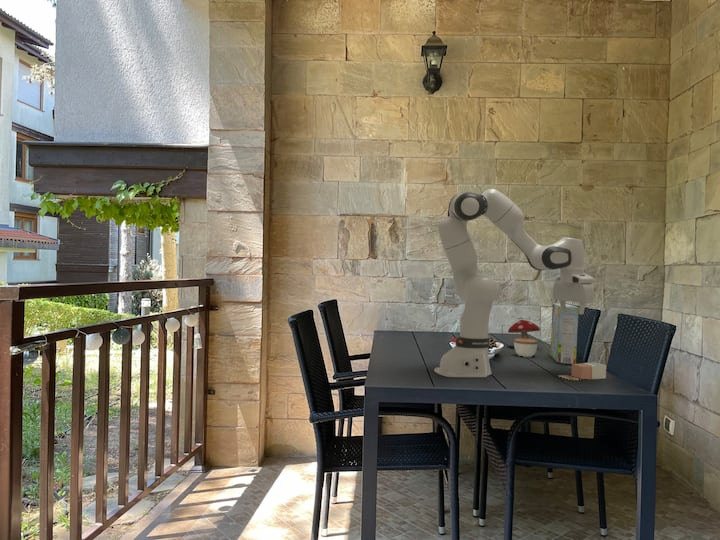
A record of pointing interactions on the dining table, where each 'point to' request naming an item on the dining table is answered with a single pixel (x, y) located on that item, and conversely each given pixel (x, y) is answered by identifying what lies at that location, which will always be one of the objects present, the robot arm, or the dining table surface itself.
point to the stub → (581, 371)
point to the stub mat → (568, 377)
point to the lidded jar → (525, 347)
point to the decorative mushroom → (523, 328)
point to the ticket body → (597, 370)
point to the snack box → (564, 334)
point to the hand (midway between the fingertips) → (572, 312)
